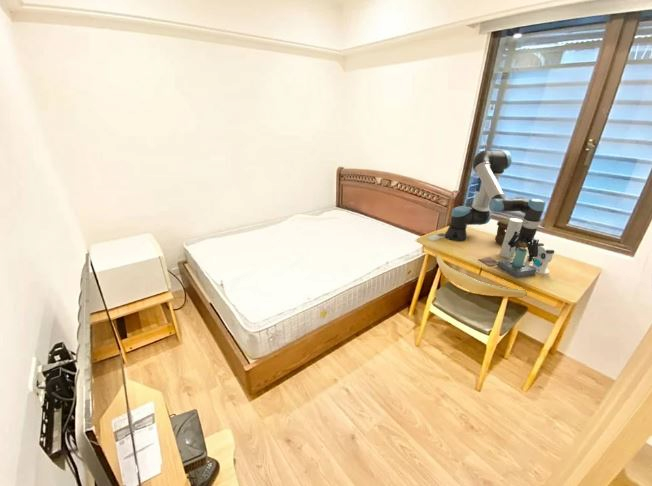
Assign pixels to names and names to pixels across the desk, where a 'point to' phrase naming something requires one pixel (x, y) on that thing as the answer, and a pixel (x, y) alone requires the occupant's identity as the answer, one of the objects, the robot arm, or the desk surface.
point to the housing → (516, 269)
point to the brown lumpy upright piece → (501, 233)
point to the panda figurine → (542, 259)
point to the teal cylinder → (519, 257)
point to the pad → (489, 261)
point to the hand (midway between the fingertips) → (518, 261)
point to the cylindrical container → (510, 235)
